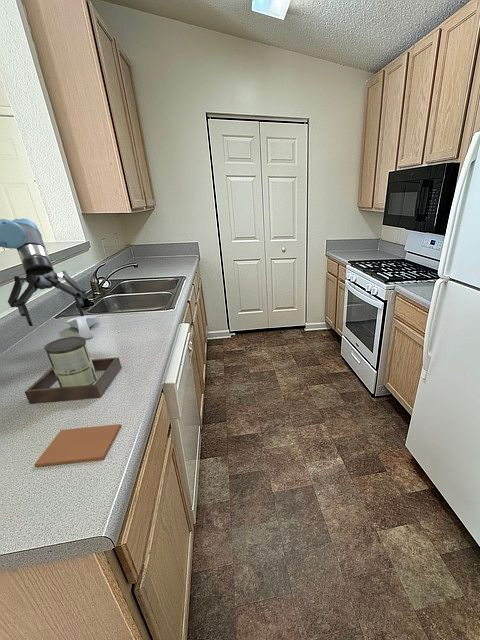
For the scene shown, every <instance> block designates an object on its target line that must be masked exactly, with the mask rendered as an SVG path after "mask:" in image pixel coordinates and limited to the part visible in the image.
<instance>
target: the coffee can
mask: <svg viewBox="0 0 480 640" xmlns="http://www.w3.org/2000/svg"><path fill="white" fill-rule="evenodd" d="M43 348H44V351H45V353H46V355H47V357H48V360H49V362H50V365H51V368H52V367H53V370H54V372H55V375H56V377H57V382H58V385H59V387H70V386H82V385H94V384H95V383H96V382H97V381H98V379H99V377H98V374H97V371H95V369H94V366H93V363H92V360H91V359H92V357H91V354H90V351H89V348H88V344H87V340H86V339H85V338H83V337H79V336H67V337H63V338H57V339H54V340H51V341H50V342H49V343H47V344H45V345H44V347H43Z"/></svg>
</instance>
